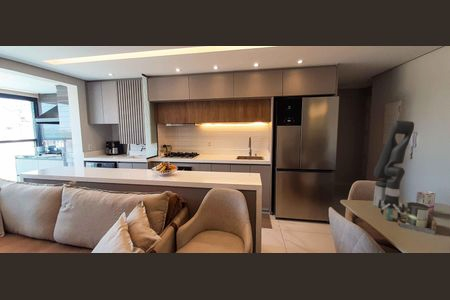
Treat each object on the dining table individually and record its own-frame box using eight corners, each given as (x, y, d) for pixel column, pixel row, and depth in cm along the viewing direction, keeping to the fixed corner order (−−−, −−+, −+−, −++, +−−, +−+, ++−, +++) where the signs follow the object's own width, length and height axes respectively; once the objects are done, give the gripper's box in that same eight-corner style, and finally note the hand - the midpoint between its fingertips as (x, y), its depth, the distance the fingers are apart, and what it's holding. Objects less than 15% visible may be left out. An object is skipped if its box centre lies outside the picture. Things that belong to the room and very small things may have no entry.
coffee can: (405, 225, 129) (407, 205, 127) (405, 219, 136) (407, 201, 134) (427, 230, 122) (429, 210, 120) (426, 224, 129) (429, 205, 127)
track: (399, 226, 127) (400, 223, 127) (396, 216, 141) (396, 212, 141) (434, 234, 117) (435, 231, 117) (427, 222, 132) (427, 218, 132)
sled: (387, 222, 132) (388, 211, 131) (385, 214, 144) (386, 204, 143) (435, 233, 118) (436, 221, 117) (428, 222, 130) (430, 211, 129)
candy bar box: (425, 210, 149) (427, 190, 147) (433, 213, 144) (436, 193, 142) (414, 212, 147) (416, 192, 144) (422, 215, 142) (424, 194, 140)
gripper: (379, 193, 135) (377, 215, 137) (406, 197, 127) (404, 220, 129) (378, 190, 141) (377, 211, 143) (404, 194, 133) (402, 216, 135)
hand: (390, 215), depth 136 cm, fingers open, 8 cm apart
